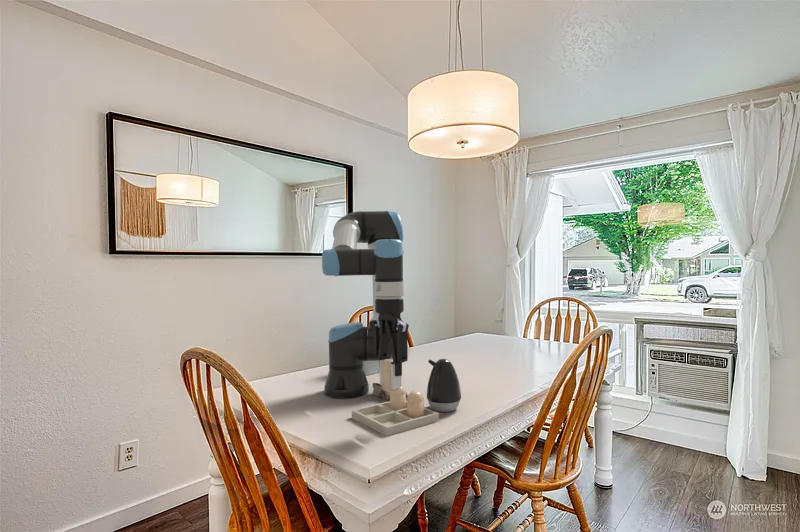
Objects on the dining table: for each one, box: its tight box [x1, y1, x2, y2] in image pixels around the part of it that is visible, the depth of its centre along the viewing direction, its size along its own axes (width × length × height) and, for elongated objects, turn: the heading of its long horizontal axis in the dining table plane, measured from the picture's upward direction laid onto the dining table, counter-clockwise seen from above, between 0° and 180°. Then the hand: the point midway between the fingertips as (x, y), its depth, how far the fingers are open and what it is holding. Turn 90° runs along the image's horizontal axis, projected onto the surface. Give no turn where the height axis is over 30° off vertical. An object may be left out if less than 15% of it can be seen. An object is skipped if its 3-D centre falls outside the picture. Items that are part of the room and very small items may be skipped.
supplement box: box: [363, 330, 380, 376], centre depth 181 cm, size 10×9×17 cm
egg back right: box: [407, 390, 425, 419], centre depth 123 cm, size 5×5×8 cm
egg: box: [382, 359, 399, 391], centre depth 118 cm, size 5×5×8 cm
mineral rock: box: [372, 382, 409, 402], centre depth 144 cm, size 15×8×4 cm, turn 30°
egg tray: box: [351, 401, 440, 437], centre depth 124 cm, size 17×17×2 cm
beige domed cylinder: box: [390, 386, 407, 411], centre depth 129 cm, size 5×5×8 cm
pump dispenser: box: [426, 358, 462, 413], centre depth 132 cm, size 10×10×15 cm
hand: (390, 385), depth 118 cm, fingers closed on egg, 4 cm apart
